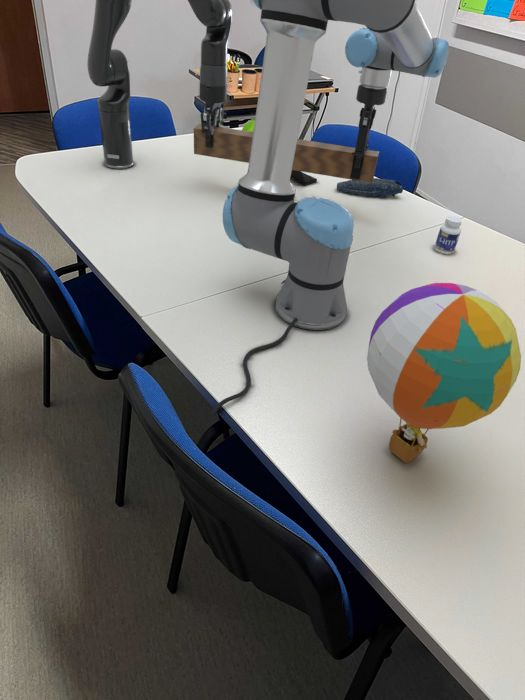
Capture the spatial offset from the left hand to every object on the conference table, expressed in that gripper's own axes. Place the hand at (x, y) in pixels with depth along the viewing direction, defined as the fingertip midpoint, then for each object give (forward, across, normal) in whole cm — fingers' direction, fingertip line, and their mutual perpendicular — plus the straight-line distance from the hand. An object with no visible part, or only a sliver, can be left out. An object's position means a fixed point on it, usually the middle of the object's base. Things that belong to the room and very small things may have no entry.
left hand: (212, 144), depth 153 cm
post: (+3, 0, +22) cm, 22 cm away
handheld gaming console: (+13, -19, +23) cm, 33 cm away
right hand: (+2, 0, +43) cm, 43 cm away
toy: (+13, +90, +64) cm, 111 cm away
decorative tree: (+13, -38, +2) cm, 40 cm away
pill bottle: (+13, +13, +71) cm, 74 cm away
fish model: (+13, -18, +47) cm, 52 cm away
